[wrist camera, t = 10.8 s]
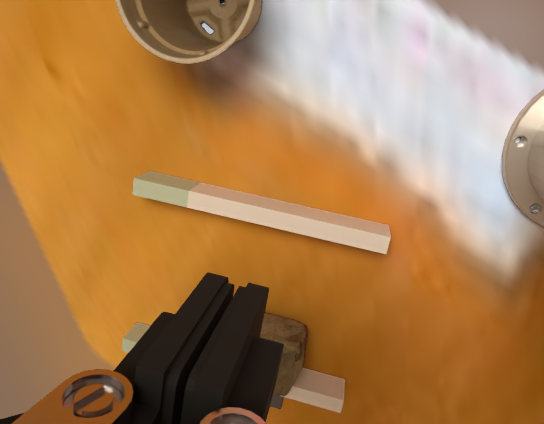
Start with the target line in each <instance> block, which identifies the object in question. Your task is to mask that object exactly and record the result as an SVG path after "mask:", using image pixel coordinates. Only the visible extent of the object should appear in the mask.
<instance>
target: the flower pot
mask: <svg viewBox="0 0 544 424" xmlns="http://www.w3.org/2000/svg"><path fill="white" fill-rule="evenodd" d="M115 2H116V5H117V9H118V11H119V14H120V16H121V18H122V20H123V22H124V24H125V26H126V28H127V29H128V31H129V32H130V33H131V35H132V36H133V37H134V38H135V40H136V41H137V42H138V43H140V45H142V46H143V47H144V48H145V49H146V50H148V51H149V52H151V53H152V54H154V55H155V56H157V57H159V58H162V59H164V60H167V61H170V62H174V63H180V64H192V63H199V62H204V61H207V60H209V59H212V58H214V57H216V56H218V55H220V54H221V53H223V52H224V51H225V50H227V49H228V48H229V47H230V46H231V45H232V44H233V43H235V42H238V41H240V40H242V39H243V38H245V37H246V36H247V35H248V34H249V33H250V32H251V31H252V30H253V28H254V27H255V25H256V23H257V21H258V19H259V16H260V13H261V8H262V0H225V4H220V0H115ZM203 21H204V22H205V23H206V24H208V25H209V26H210V27H211V28H212V29H214V32H213V33H212V34H209V33H207V32H206V30H205V29H204V28H203V27H202V26H201V23H202V22H203Z"/></svg>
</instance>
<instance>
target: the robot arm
mask: <svg viewBox="0 0 544 424" xmlns="http://www.w3.org/2000/svg"><path fill="white" fill-rule="evenodd" d="M517 137H520V138H521V139H520V142H518V143H515V139H516V138H517ZM502 173H503V177H504V182H505V186H506V188H507V190H508V192H509V194H510V196H511V198H512V200H513V201H514V202H515V204H516V205H517V206H518V207H519V209H520V210H521V211H522V212H523V213H524V214H526V215H527V216H528V217H529V218H530V219H532V220H533V221H535V222H536V223H538V224H539V225H541V226H542V227H544V90H542V91H541V92H540V93H539V94H537V95H536V96H535V97H534V98H532V100H531V101H530V102H529V103H528V104H527V105H526V106H525V107H524V108H523V109H522V111H521V112H520V113H519V115H518V116H517V118H516V119H515V121H514V123H513V124H512V126H511V128H510V130H509V133H508V135H507V138H506V140H505V144H504V149H503V154H502ZM533 204H535V206H534V208H530V206H531V205H533ZM268 292H269V288H268V287H264V286H260V285H256V284H252V283H248V284H247V286H246V287H242V286H239V288H238V289H237V291H236V293H235V295H234V296H233V293H234V284H230V283H228V277H224V276H220V275H216V274H213V273H207V274H206V275H205V276H204V277H203V279H202V280H201V281H200V283H199V284H198V285H197V287H196V288H195V289H194V290H193V292H192V293H191V294H190V296H189V297H188V298H187V300H186V301H185V302H184V304H183V305H182V306H181V307H180V309H179V310H178V311H177V313H176V314H172V313H168V312H163V313H161V314H160V315H159V317H158V318H157V319H156V320H155V321H154V323H153V324H152V325H151V326H150V327H149V329H148V330H147V331H146V332H145V333H144V335H143V336H142V337H141V338H140V340H139V341H138V342H137V343H136V344H135V346H134V347H133V348H132V349H131V350H130V352H129V353H128V354H127V355H126V356H125V358H124V359H123V360H122V361H121V363H120V364H119V365H118V366H117V367H116V369H115V370H114V371H111V370H103V369H95V370H88V371H84V372H81V373H78V374H75V375H73V376H71V377H70V378H68V379H67V380H65V381H64V382H63V383H61V384H60V385H59V386H58V387H56V388H55V389H54V390H52V391H51V392H50V393H49V394H48V395H46V396H45V397H44V398H43V399H41V400H40V401H39V402H38V403H36V404H35V405H34V406H33V407H31V408H30V409H29V410H28V411H26V412H25V413H22V414H19V415H15V416H11V417H8V418H4V419H0V424H266V423H265V422H266V419H267V415H268V411H269V408H270V404H271V400H272V396H273V392H274V388H275V384H276V380H277V376H278V371H279V367H280V362H281V358H282V353H283V348H284V344H283V343H279V342H276V341H272V340H268V339H265V338H261V337H260V334H261V329H262V323H263V318H264V313H265V308H266V303H267V298H268Z"/></svg>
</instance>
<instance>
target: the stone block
mask: <svg viewBox="0 0 544 424" xmlns="http://www.w3.org/2000/svg"><path fill="white" fill-rule="evenodd" d="M307 336H308V333H307V327H306V325H304V324H301V323H300V322H298V321H295V320H293V319H287V318H284V317H281V316H277V315H272V314H268V313H264V318H263V323H262V329H261V334H260V337H261V338H265V339H268V340H272V341H276V342H279V343H283V344H284V348H283V353H282V358H281V362H280V367H279V371H278V376H277V380H276V384H275V388H274V392H273V394H274V395H277V396H286V395H287V394H288V393H289V392H290V390H291V388H292V386H293V384H294V382H295V379H296V377H297V376H298V375H299V373H300V371H301V369H302V366H303V362H304V358H305V349H306V342H307Z"/></svg>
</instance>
